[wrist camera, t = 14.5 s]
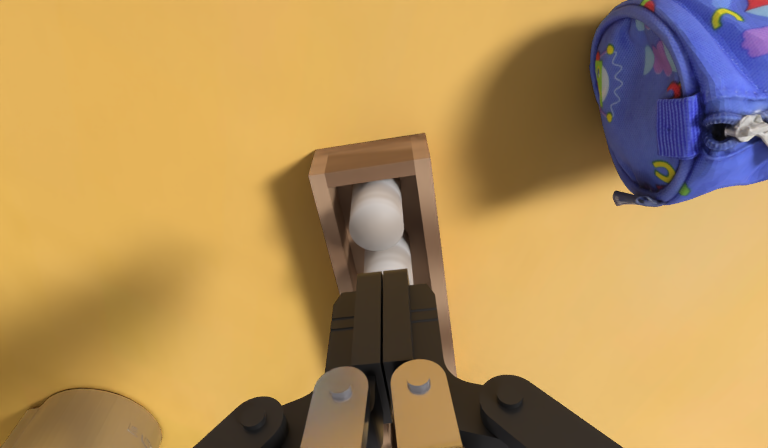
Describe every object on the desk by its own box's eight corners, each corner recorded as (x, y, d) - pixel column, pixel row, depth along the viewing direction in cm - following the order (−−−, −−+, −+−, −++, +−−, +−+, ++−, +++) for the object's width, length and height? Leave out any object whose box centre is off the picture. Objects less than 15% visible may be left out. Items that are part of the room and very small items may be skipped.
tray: (460, 418, 39) (470, 483, 35) (384, 427, 39) (385, 491, 35) (424, 132, 27) (434, 175, 22) (315, 149, 27) (302, 195, 23)
